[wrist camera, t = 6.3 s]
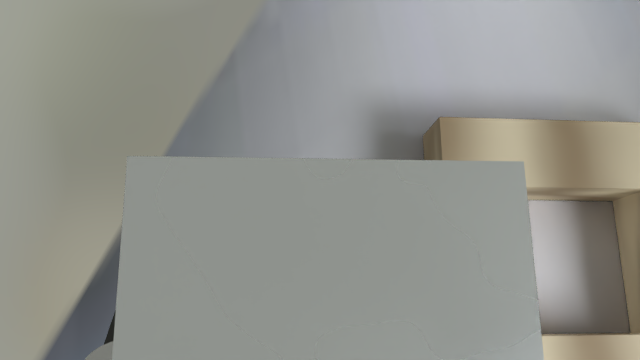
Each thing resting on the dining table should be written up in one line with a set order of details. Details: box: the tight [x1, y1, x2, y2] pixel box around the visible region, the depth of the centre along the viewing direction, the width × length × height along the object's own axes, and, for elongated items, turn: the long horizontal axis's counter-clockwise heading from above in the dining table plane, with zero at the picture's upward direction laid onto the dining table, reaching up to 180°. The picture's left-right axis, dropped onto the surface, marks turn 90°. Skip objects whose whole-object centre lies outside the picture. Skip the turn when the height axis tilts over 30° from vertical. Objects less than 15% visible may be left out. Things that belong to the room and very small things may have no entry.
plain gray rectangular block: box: [112, 156, 544, 360], centre depth 12 cm, size 4×4×14 cm
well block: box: [423, 117, 640, 360], centre depth 28 cm, size 14×14×3 cm
